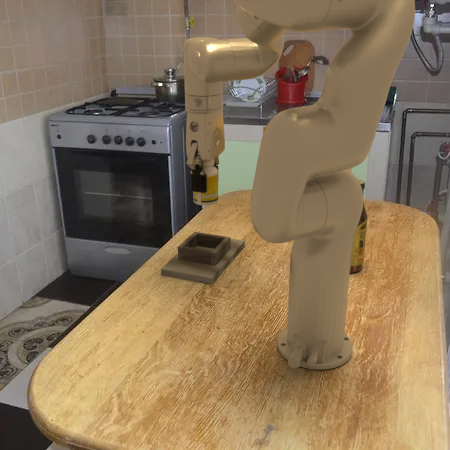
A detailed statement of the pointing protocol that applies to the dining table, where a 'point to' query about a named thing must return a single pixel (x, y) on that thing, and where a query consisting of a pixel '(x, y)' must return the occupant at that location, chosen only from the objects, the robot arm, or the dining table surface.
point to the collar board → (203, 257)
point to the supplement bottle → (208, 185)
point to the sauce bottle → (359, 239)
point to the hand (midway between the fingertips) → (205, 186)
